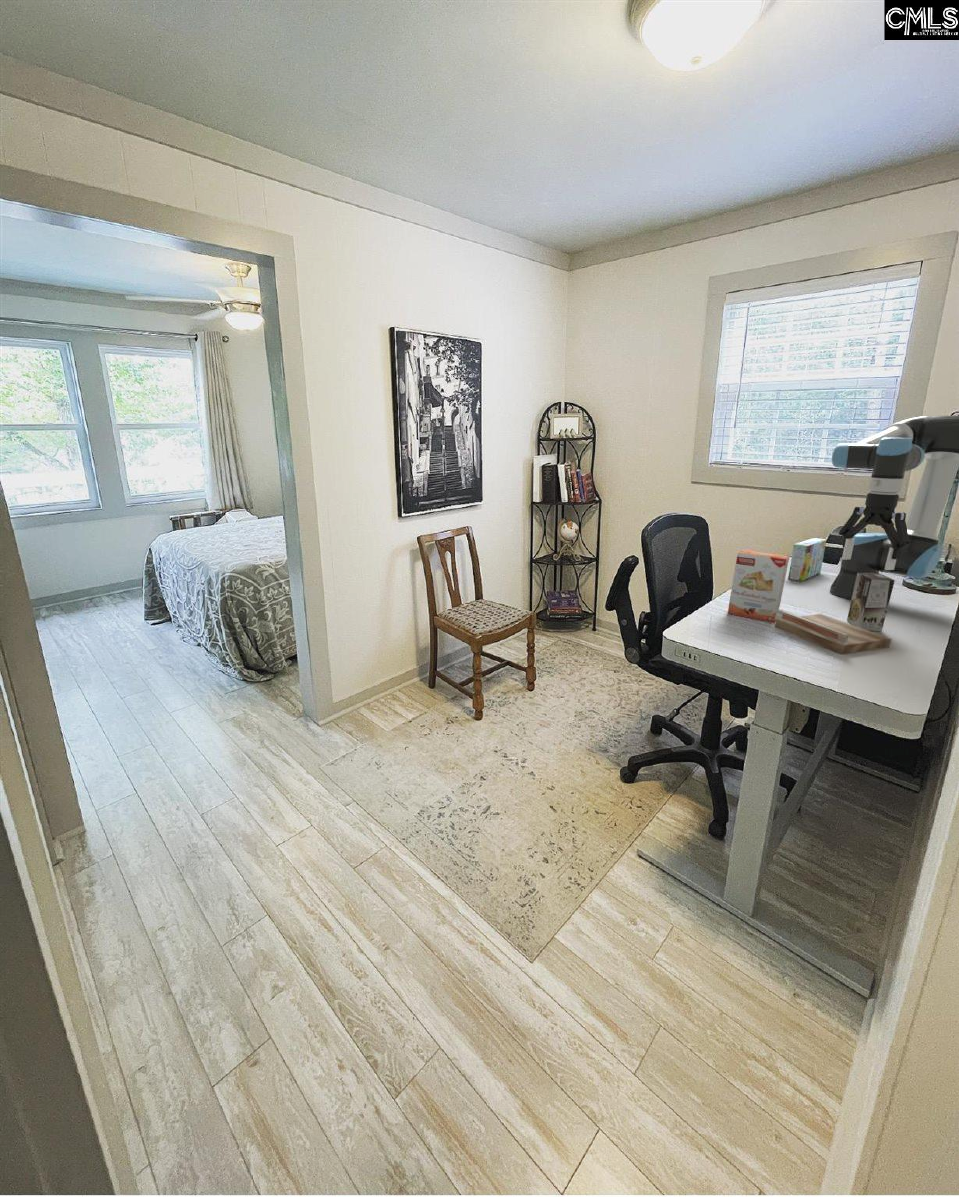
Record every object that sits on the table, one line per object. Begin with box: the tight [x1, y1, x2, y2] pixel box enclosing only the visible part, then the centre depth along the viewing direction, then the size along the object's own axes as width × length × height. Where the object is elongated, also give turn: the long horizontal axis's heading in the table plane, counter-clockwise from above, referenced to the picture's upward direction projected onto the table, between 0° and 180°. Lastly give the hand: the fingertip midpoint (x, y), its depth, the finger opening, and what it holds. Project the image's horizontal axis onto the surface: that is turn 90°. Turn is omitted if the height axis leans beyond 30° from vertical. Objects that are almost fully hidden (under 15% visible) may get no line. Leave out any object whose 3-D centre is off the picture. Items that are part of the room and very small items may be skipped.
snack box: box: [787, 537, 827, 582], centre depth 219 cm, size 21×6×15 cm, turn 130°
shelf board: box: [774, 609, 892, 655], centre depth 154 cm, size 18×22×6 cm
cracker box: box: [727, 549, 790, 623], centre depth 168 cm, size 14×6×21 cm, turn 52°
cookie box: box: [846, 572, 896, 632], centre depth 161 cm, size 9×6×16 cm
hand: (866, 564), depth 159 cm, fingers open, 13 cm apart
